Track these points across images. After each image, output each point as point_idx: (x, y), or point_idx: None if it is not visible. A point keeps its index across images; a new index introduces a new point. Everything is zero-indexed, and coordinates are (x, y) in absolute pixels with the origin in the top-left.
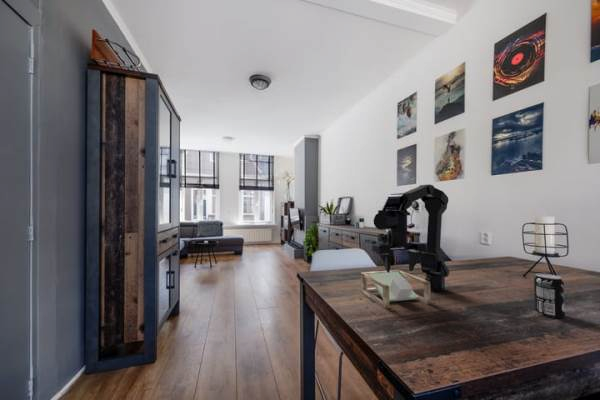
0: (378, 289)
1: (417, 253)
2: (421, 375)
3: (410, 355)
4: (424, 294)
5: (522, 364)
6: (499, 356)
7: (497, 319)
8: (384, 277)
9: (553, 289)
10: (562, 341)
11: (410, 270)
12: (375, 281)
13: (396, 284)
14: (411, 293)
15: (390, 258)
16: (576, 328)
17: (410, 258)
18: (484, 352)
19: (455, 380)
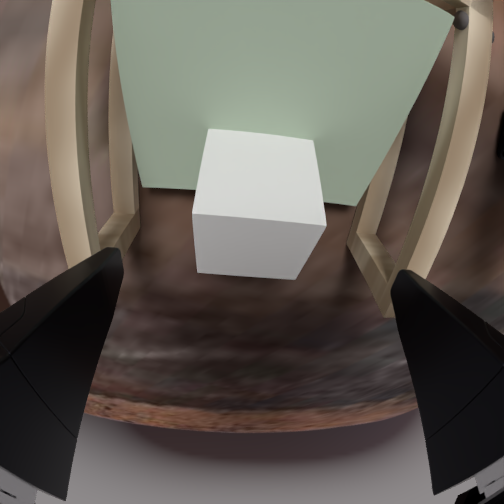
0: (128, 116)
1: (434, 492)
2: (92, 407)
3: (93, 388)
4: (365, 252)
5: (249, 431)
6: (238, 422)
7: (404, 359)
8: (252, 13)
9: None
10: (383, 409)
11: (394, 286)
12: (55, 176)
13: (195, 248)
14: (343, 184)
15: (67, 452)
16: None
17: (468, 375)
18: (225, 416)
19: (130, 421)
